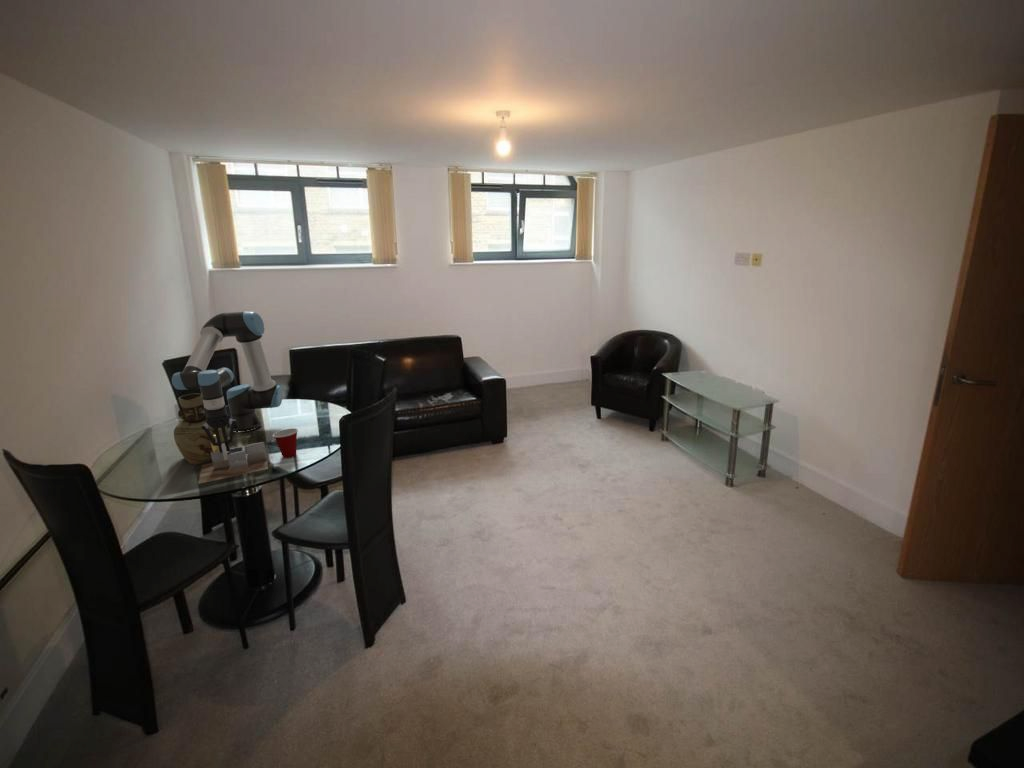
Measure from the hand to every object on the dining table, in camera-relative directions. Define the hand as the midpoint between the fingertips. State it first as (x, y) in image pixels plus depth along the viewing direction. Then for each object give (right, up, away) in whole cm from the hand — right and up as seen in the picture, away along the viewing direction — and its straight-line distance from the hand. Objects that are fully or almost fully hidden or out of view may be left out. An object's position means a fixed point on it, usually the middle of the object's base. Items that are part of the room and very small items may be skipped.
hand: (226, 458), depth 210 cm
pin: (-6, -4, +6) cm, 10 cm away
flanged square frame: (+1, -4, +2) cm, 5 cm away
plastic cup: (+20, -1, +16) cm, 26 cm away
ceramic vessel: (-20, -2, +17) cm, 27 cm away
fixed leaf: (+7, -3, +5) cm, 10 cm away
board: (+1, -5, +4) cm, 7 cm away
